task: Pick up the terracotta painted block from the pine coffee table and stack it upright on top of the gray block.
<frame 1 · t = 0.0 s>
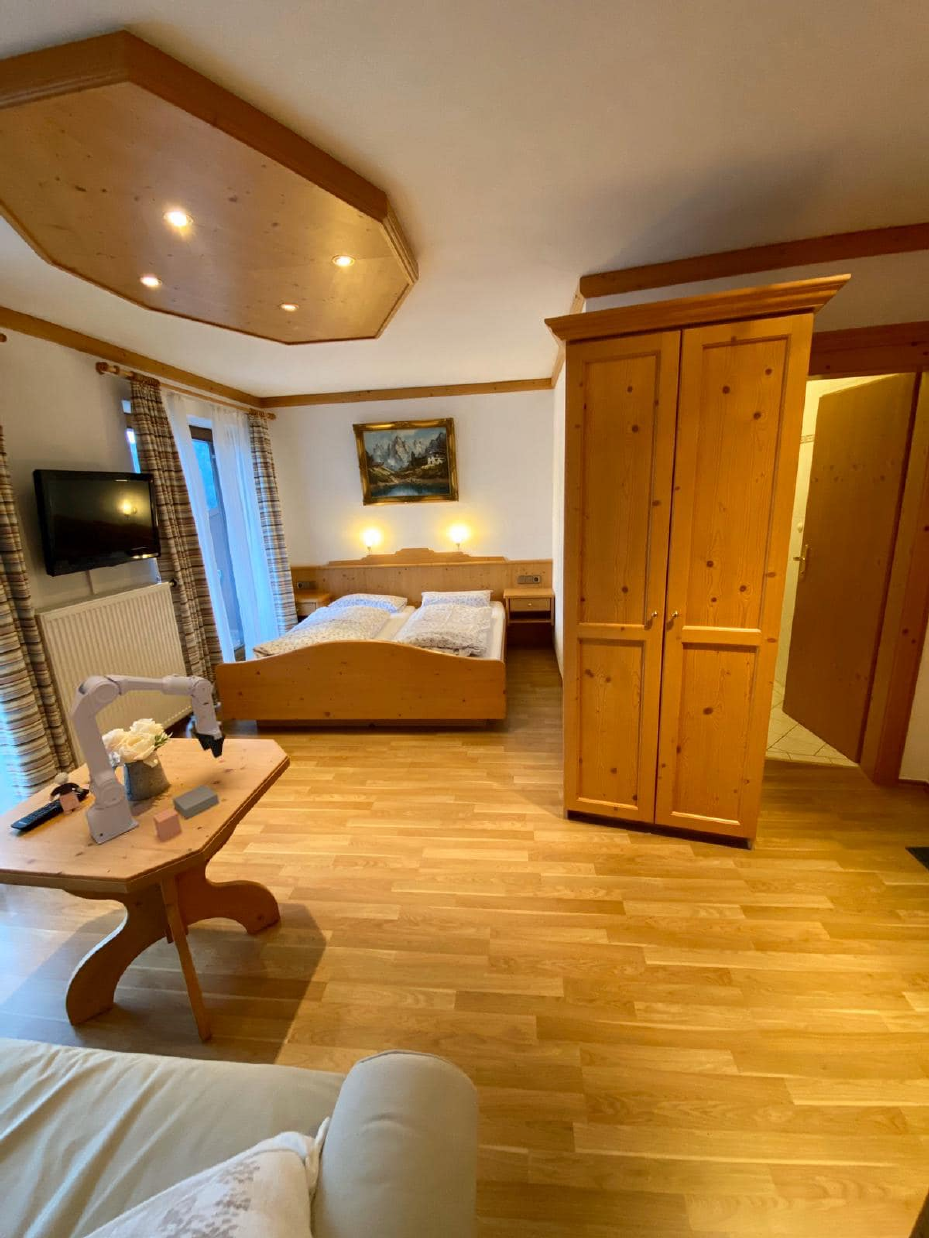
hand: (212, 752, 152), 10 cm above the table, tool pointing down, fingers open, 7 cm apart
terracotta block: (169, 833, 130), on the table
grandmother figurine: (71, 811, 143), on the table
gray block: (196, 805, 142), on the table
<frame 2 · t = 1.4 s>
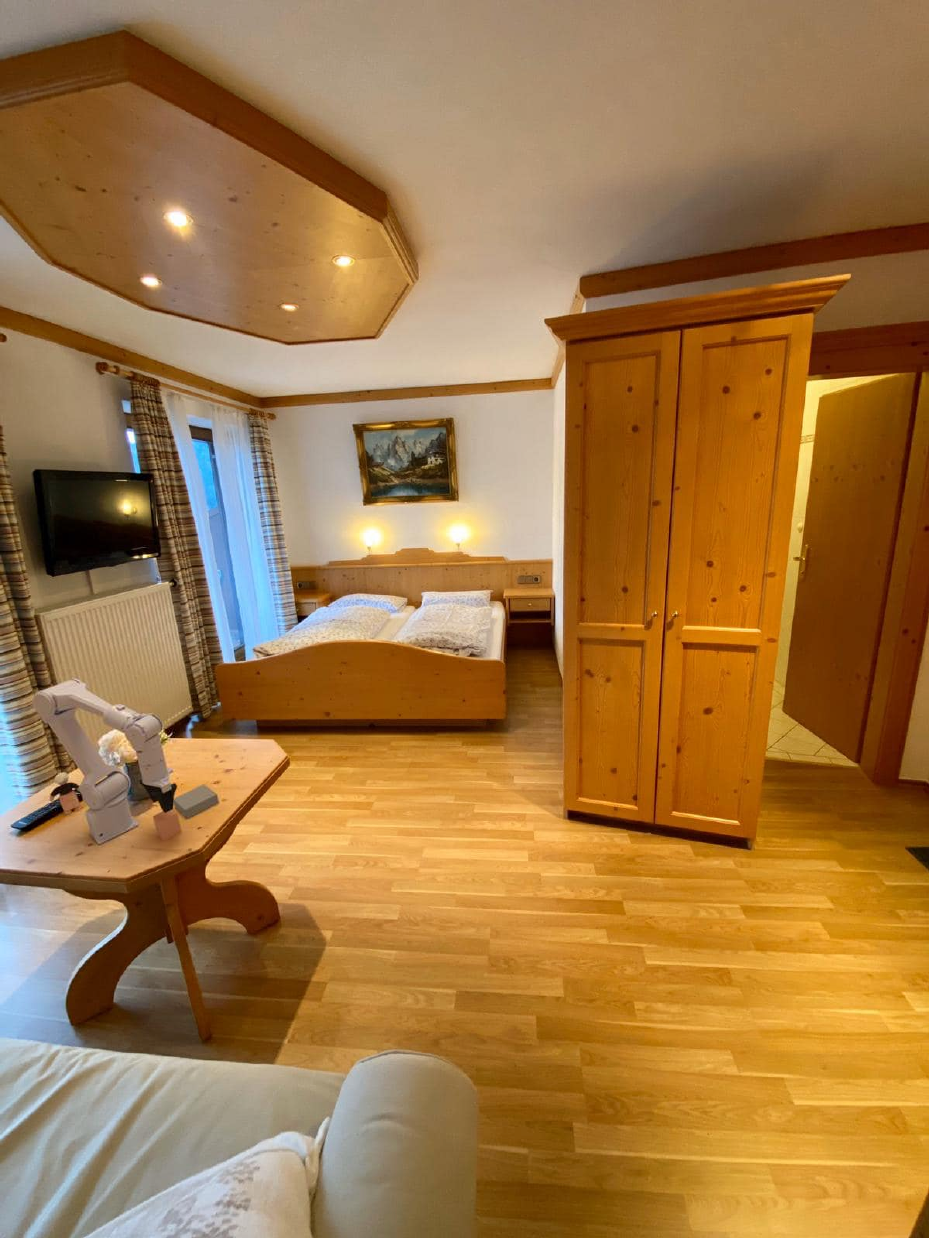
hand: (162, 805, 128), 9 cm above the table, tool pointing down, fingers open, 7 cm apart
nothing on the table moved.
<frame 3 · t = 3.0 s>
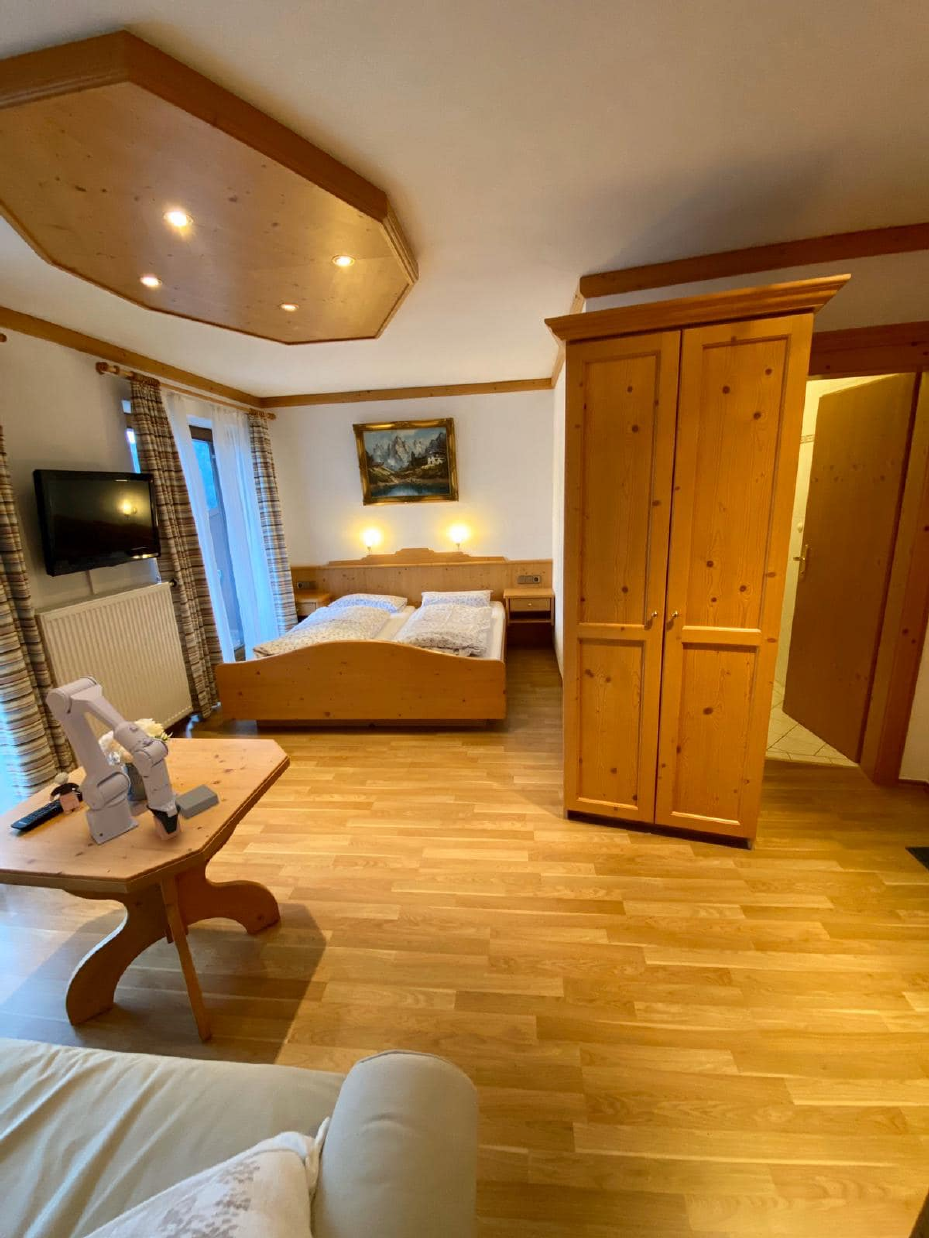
hand: (168, 828, 130), 2 cm above the table, tool pointing down, fingers closed on terracotta block, 4 cm apart
terracotta block: (169, 833, 130), on the table, touching gripper
everything else where it was.
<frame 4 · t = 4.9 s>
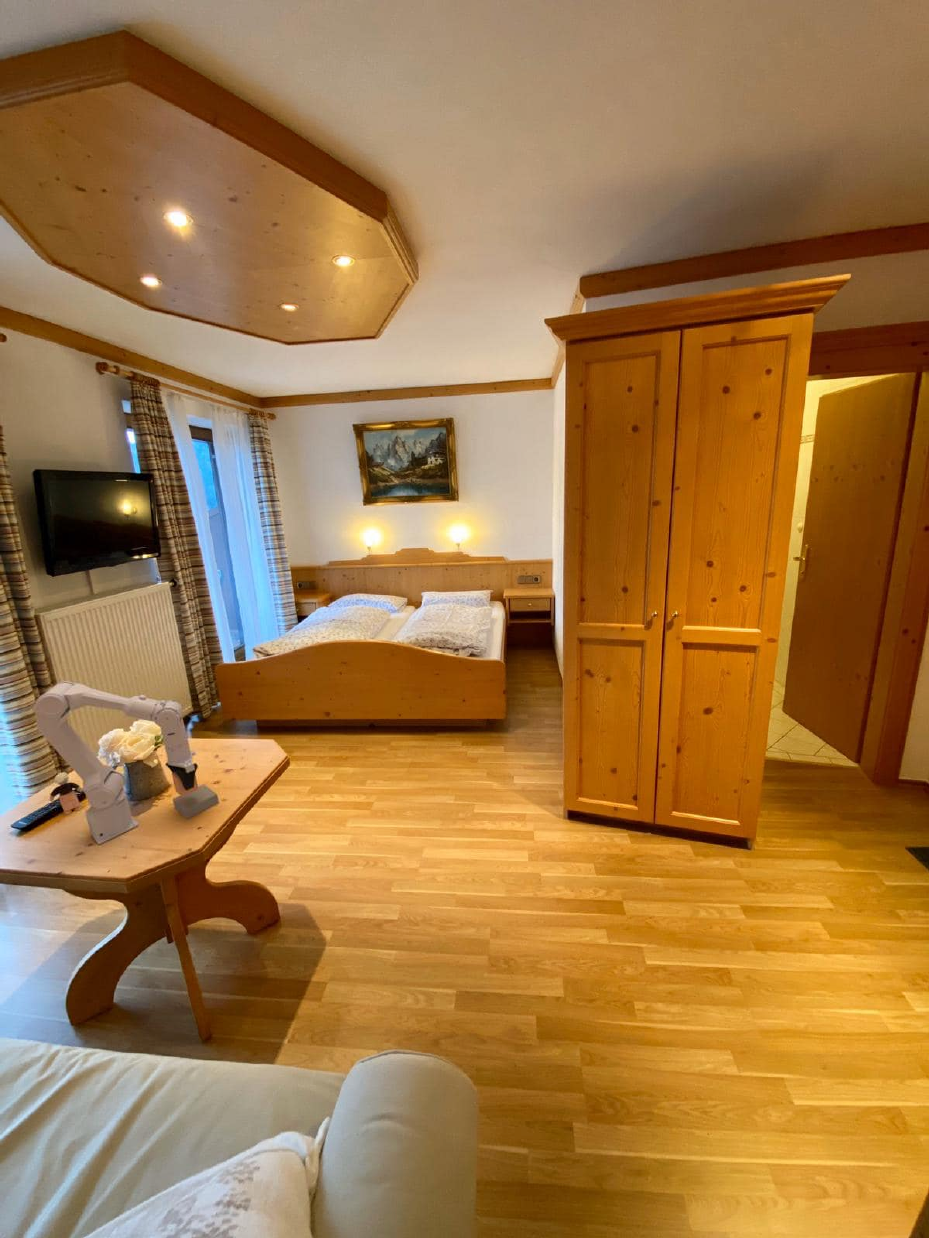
hand: (186, 785, 137), 8 cm above the table, tool pointing down, fingers closed on terracotta block, 4 cm apart
terracotta block: (187, 790, 138), point 7 cm above the table, touching gripper
everything else where it was.
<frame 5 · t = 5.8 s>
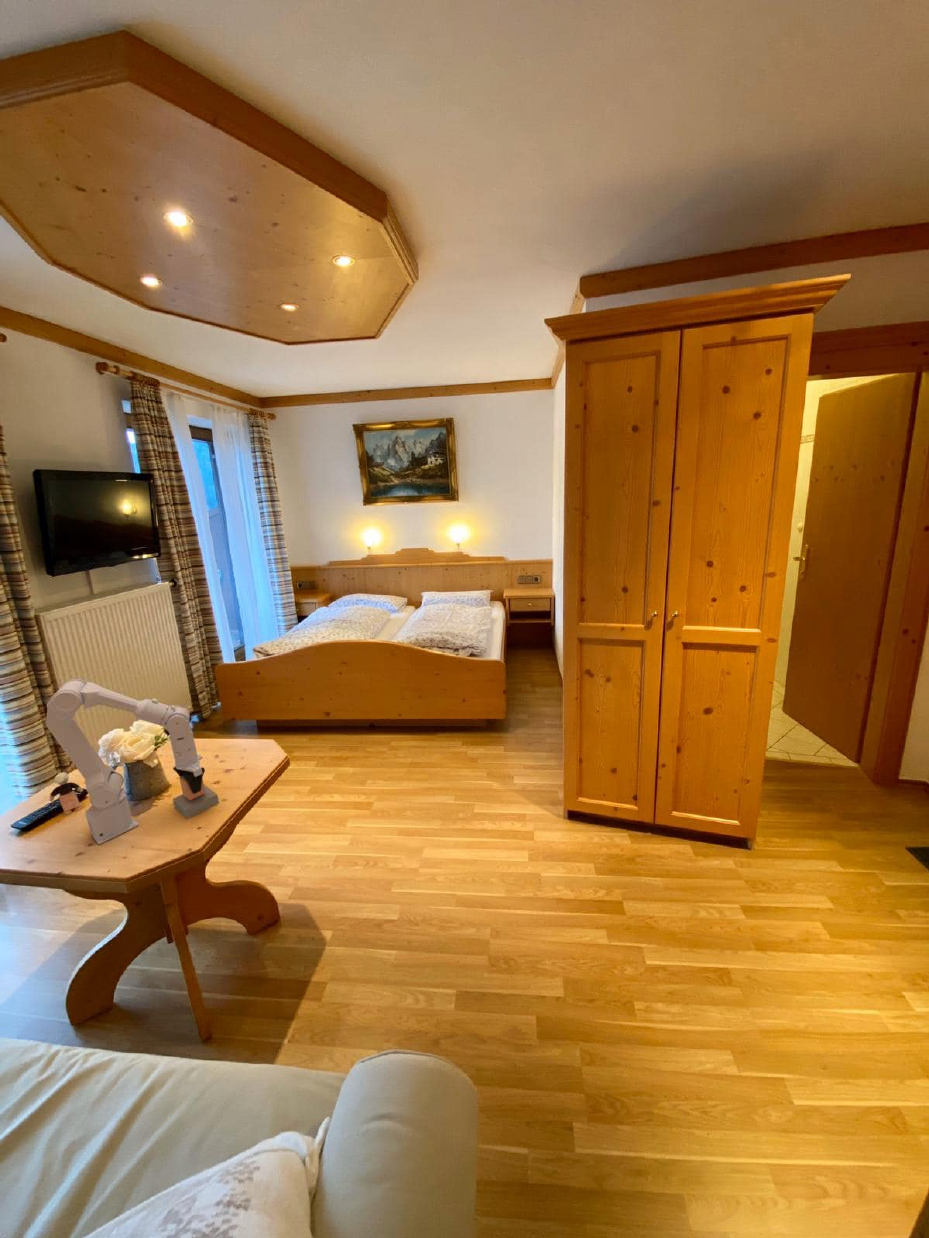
hand: (193, 789, 141), 6 cm above the table, tool pointing down, fingers closed on terracotta block, 4 cm apart
terracotta block: (194, 793, 141), point 4 cm above the table, touching gripper
everything else where it was.
when the fingers open (5 cm above the table, at t = 6.7 s): terracotta block stays where it is, resting on gray block.
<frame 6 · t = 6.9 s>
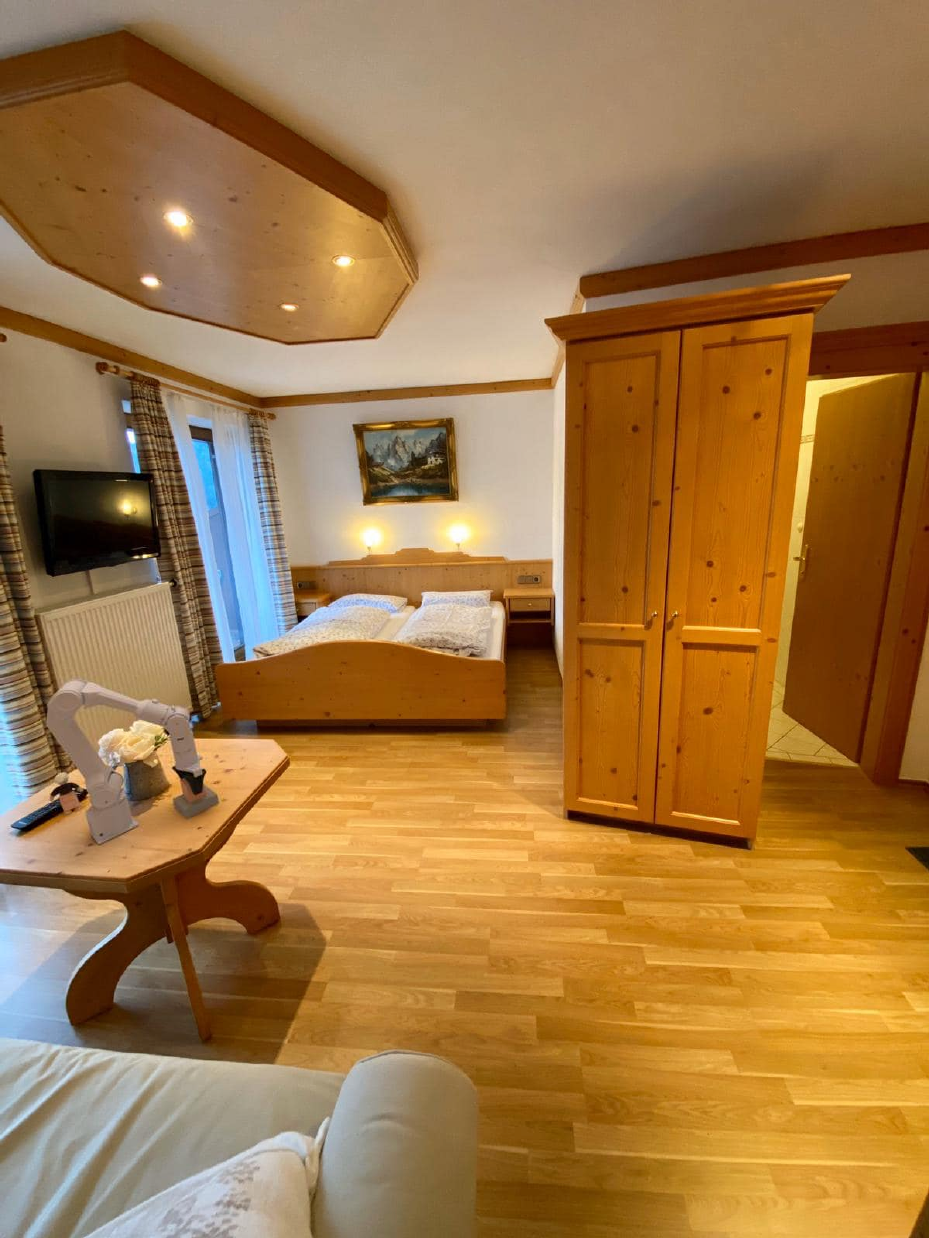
hand: (193, 789, 141), 5 cm above the table, tool pointing down, fingers open, 6 cm apart
terracotta block: (195, 796, 141), point 3 cm above the table, touching gray block
everything else where it was.
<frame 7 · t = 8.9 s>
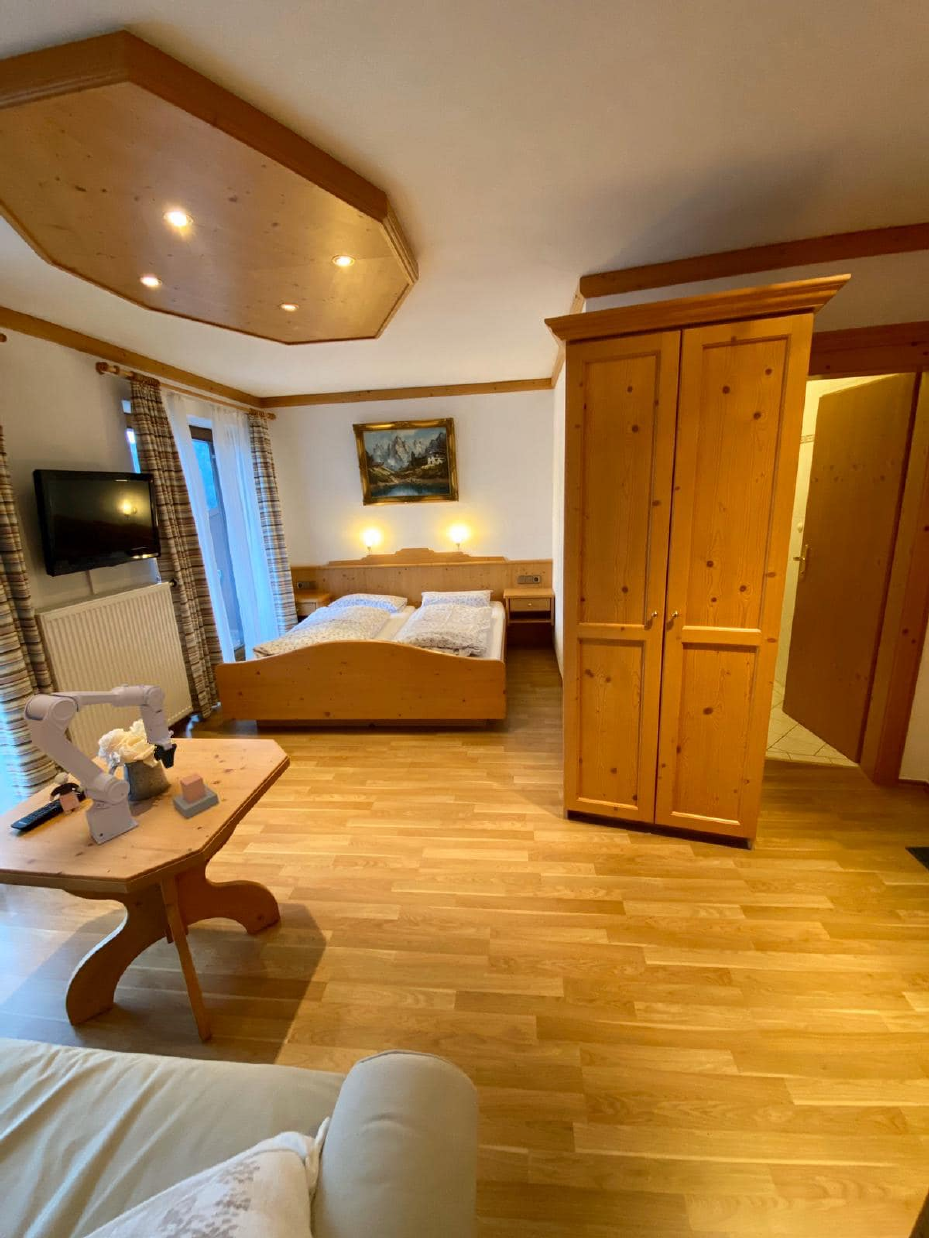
hand: (164, 763, 146), 10 cm above the table, tool pointing down, fingers open, 7 cm apart
nothing on the table moved.
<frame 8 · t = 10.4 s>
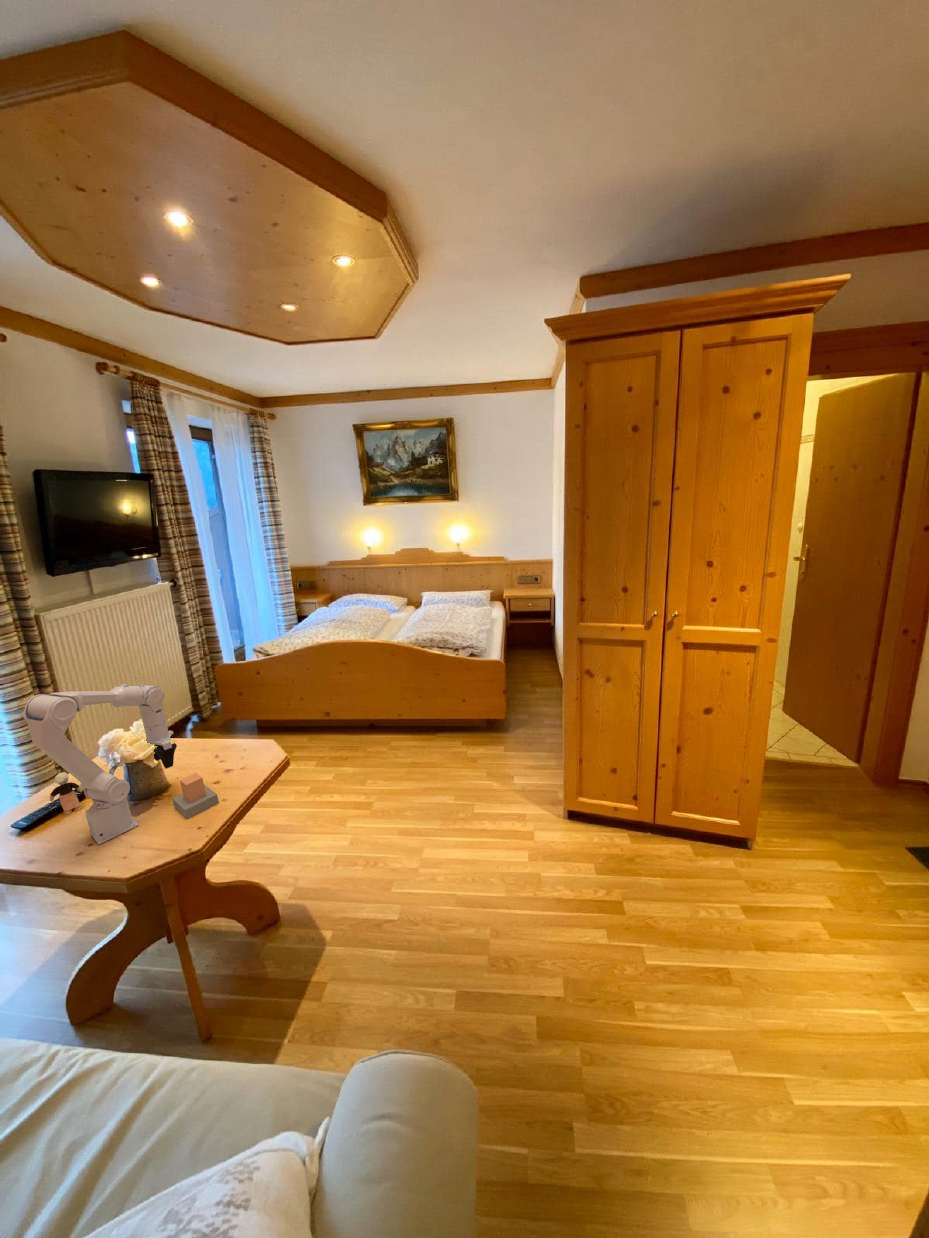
hand: (164, 763, 147), 10 cm above the table, tool pointing down, fingers open, 7 cm apart
nothing on the table moved.
at the end: terracotta block 0.0 cm off-centre on the gray block, point 3.0 cm above the gray block's base; terracotta block tilted 0°; the gripper is holding nothing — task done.
